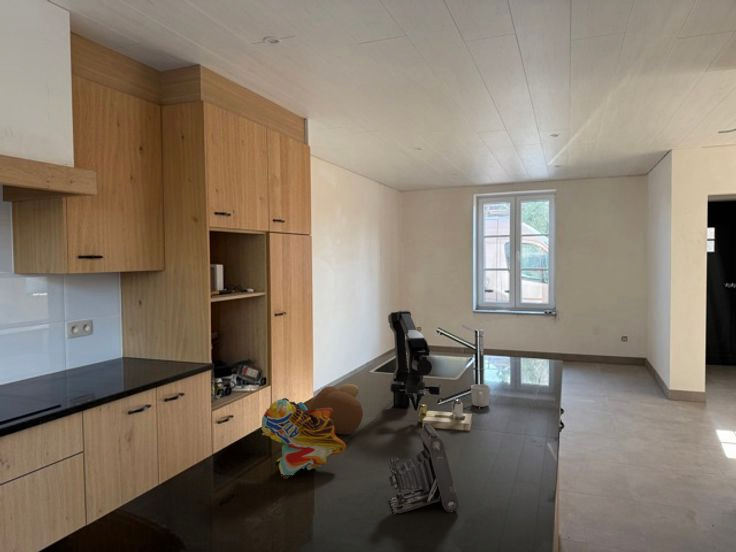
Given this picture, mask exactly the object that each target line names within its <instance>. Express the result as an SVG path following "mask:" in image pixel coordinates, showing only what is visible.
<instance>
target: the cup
mask: <svg viewBox="0 0 736 552" xmlns="http://www.w3.org/2000/svg"><path fill="white" fill-rule="evenodd" d="M470 393H471V403H472V404H473V406H476V407H478V406H479V407H480V408H481V407H482V408H485V407H488V405H489V402H490V396H491V395H490V393H491V387H490V386H489V385H487V384H480V383H478V384H476V383H475V384H472V385H471V386H470Z"/></svg>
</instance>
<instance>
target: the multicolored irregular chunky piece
mask: <svg viewBox="0 0 736 552" xmlns="http://www.w3.org/2000/svg"><path fill="white" fill-rule="evenodd" d="M308 409H309V408H307V406H306V405H305V403H303V402H302V401H299V402H297V403H296V402H295V401H290V400H289V399H288V398H286V397H284V398H281V399H277V400H274V402H273V403H271V404H270V405H269V407H268V408H267V409H266V411H265V412H264V413H263V415H262V418H261V430H262V432H263V433H262V434H261V436H267V437H269V438H270V439H271V440H274V441H275V442H278V443H281V444H282V446H281V457H279V458H278V459H277V460H276V462H279V463H278V467H279V471H280V475H281V474H283V475H292V476H293V475H295V474H296V473H297V472H298V471H299V470H301V469H303V470H305V468H306V469H307V471H310V470H312V469H316V468H315V467H317V468H321V467H322V466H323V465H326V463H327V457H328V456H333V455H338V454H341V453H343V452H344V451H345V450H346V448H347V445H346V443H345V442H344V441H343V440H342V439H340V438H339V437H337V435H336V433H335V429H334V426H333V422H332V420H331V419H330V416H331V414H332V412H333V409H332V408H321V409H313V410H308Z"/></svg>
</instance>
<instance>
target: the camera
mask: <svg viewBox="0 0 736 552" xmlns="http://www.w3.org/2000/svg"><path fill="white" fill-rule="evenodd" d="M419 432H420V433H419V435H420V440H421V443H422V447H423V450H422V451H419V452H418V453H417V454H415V455H413V457H412V458H409V459H407V461H406V462H404V463H402V464H400V459H399V457H392V458H389V459H388V461H389V463H388V469H389V472H390V476H388V480H389V483H390V486H391V487H393V490H398V491H397V493H396V496H393V497H390V498H388V501H389V500H390V499H391V500H393V501H392V504H391V505H390V507H391V506H394V508H397V510H398V512H394V511H392V513H393V512H394V513H399V514H402V513H404V512H405V513H406V512H408V511H409V512H410V511H413V510H416V509H419V508H422V507H425V506H427V505H431V504H433V503H438V502H440V503H441V505H442V507H443V509H444V511H445V512H447V513H449V512H451V511H455V512H456V511H457V510H458V509H459V507H460V501H459V499H458V498H459V497H458V495H457V491H456V487H455V482H454V478H453V474H452V469H451V466H450V462H449V458H448V454H447V447H446V442H444V439H442V437H441V436H440V434H439V433H438V432H437V431H436V428H433V427H432V426H431V425H429V423H424V426H423V425H422V428H421V429H420V431H419ZM399 464H400V466H398V465H399ZM402 490H410V492H406V493H403V492H402ZM411 490H414V491H411ZM390 503H391V502H389V504H390ZM392 509H393V508H391V510H392Z"/></svg>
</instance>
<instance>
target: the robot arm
mask: <svg viewBox="0 0 736 552" xmlns="http://www.w3.org/2000/svg"><path fill="white" fill-rule="evenodd" d="M387 319H388V320H387V321H388V324H389V328H390V329H391V331H392V333H393V335H394V353H395V369H394V372H393V373H392V379H391V382H390V385H389V388H390V389H389V390H390V392H391V393H392V394H393V396H392V397H393V401H392V402H393V404H392V408H399V409H408V408H409V407H410V405H411V404H412V407H413V410H414V411H416V412H417V411H418V408H419V407H420V403H421V399H422V398H423V397H424V396H425V395H426V394H427V393H428V392H429V394H430V395H432V396H433V395H437V396H440V395H441V393H442V388H443V387H442V385H441V384H440V383H430V384H429V385H426V381H425V379H424V376H427V375H429V374H430V373H431V371H432V369H433V365H432V363H431V361H430V360H428V358H427V357H429V356H430V348H429V344H428V342H427V339H426V338H425V336H424V335H423V334H422V333H421V332H419V331H418V330H417V328H416V325H415V322H414V320H413V318H412V313H411V311H410V310H398V311H391V312H390V314H388V315H387ZM407 355H408V358H407ZM407 360H408V361H407Z"/></svg>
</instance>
